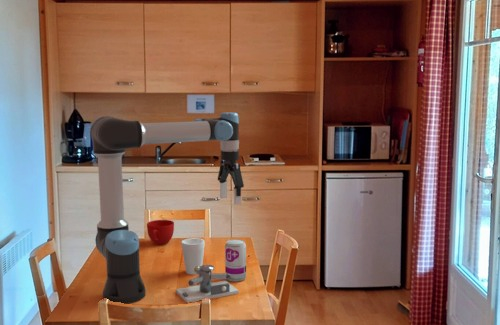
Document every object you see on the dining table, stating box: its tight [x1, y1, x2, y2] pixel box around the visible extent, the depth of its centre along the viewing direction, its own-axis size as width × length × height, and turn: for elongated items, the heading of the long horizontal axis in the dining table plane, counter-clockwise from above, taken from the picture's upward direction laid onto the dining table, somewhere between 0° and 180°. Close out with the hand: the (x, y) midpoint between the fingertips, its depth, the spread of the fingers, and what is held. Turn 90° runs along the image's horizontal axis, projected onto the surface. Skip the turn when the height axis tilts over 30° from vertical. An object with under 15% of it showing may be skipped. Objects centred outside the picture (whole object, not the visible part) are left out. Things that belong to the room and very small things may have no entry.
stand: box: [175, 279, 240, 304], centre depth 209 cm, size 20×13×4 cm, turn 117°
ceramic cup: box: [146, 219, 175, 246], centre depth 271 cm, size 13×17×10 cm
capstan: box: [187, 264, 230, 293], centre depth 209 cm, size 16×14×9 cm
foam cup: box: [180, 237, 206, 276], centre depth 231 cm, size 10×9×13 cm
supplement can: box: [224, 238, 247, 282], centre depth 223 cm, size 8×8×15 cm
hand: (230, 200), depth 236 cm, fingers open, 13 cm apart
